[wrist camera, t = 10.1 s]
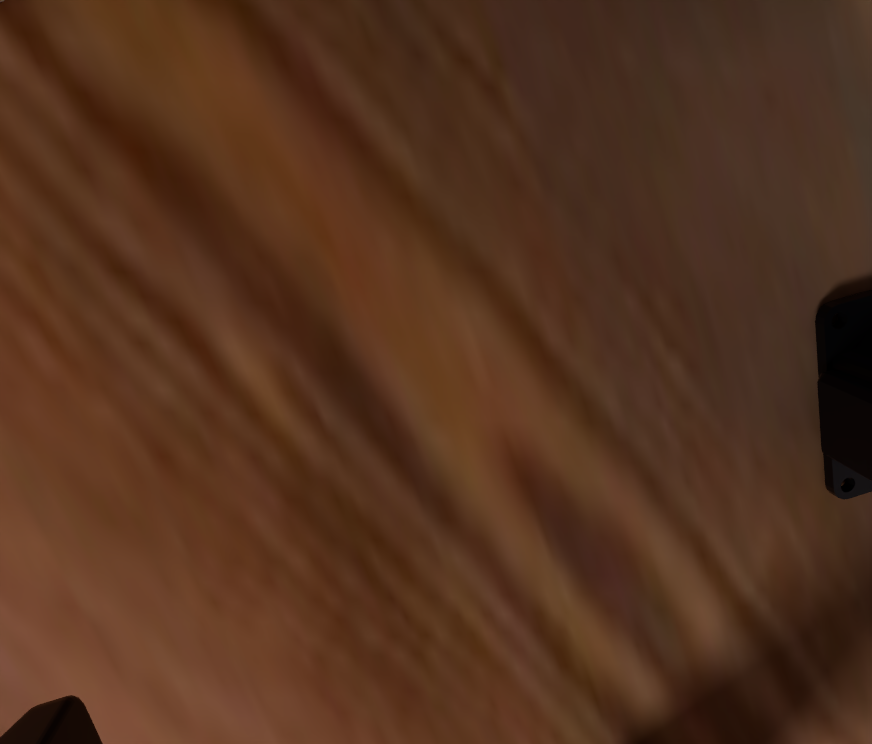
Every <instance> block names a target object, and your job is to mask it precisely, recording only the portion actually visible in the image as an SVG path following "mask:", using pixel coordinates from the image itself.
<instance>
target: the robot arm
mask: <svg viewBox="0 0 872 744" xmlns="http://www.w3.org/2000/svg"><path fill="white" fill-rule="evenodd" d="M837 313H838V319H837V321H836V323H835V324H833V325H832V318H833V317H834V316H835V314H837ZM815 326H816V342H817V358H818V374H819V379H818V399H819V415H820V431H821V447H822V452H823V455H824V471H825V485H826V488H827V490H828V491H829V492H830V493H832V494H833V495H835V496H836V497H838V498H841V499H849V498H852V497H856V496H859V495H862V494H865V493H868V492H871V491H872V290H869V291H866V292H862V293H859V294H855V295H852V296H848V297H844V298H841V299H837V300H834V301H830V302H828V303H826V304H824V305H823V306H822V307H821V308H820V309H819V311H818V313H817V315H816V320H815ZM845 479H846V482H845V483H844V484H843V485H842V486H841V483H842V482H843V481H844V480H845ZM0 744H102V741H101V739H100V737H99V735H98V733H97V731H96V728H95V726H94V724H93V722H92V720H91V718H90V715H89V713H88V711H87V709H86V707H85V705H84V703H83V702H82V701H81V700H80V699H79V698H78V697H75V696H72V695H70V696H66V697H63V698H59V699H56V700H53V701H49V702H46V703H43V704H40V705H37V706H35V707H33V708H31V709H30V710H29V711H28V712H27V713H26V714H25V715H23V716H22V717H21V718H20V719H19V720H18V721H17V722H16V723H15V724H14V725H13V726H12V727H11V728H10V729H9V730H8V731H7V732H5V733H4V734H3V735H2V736H1V737H0Z"/></svg>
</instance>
